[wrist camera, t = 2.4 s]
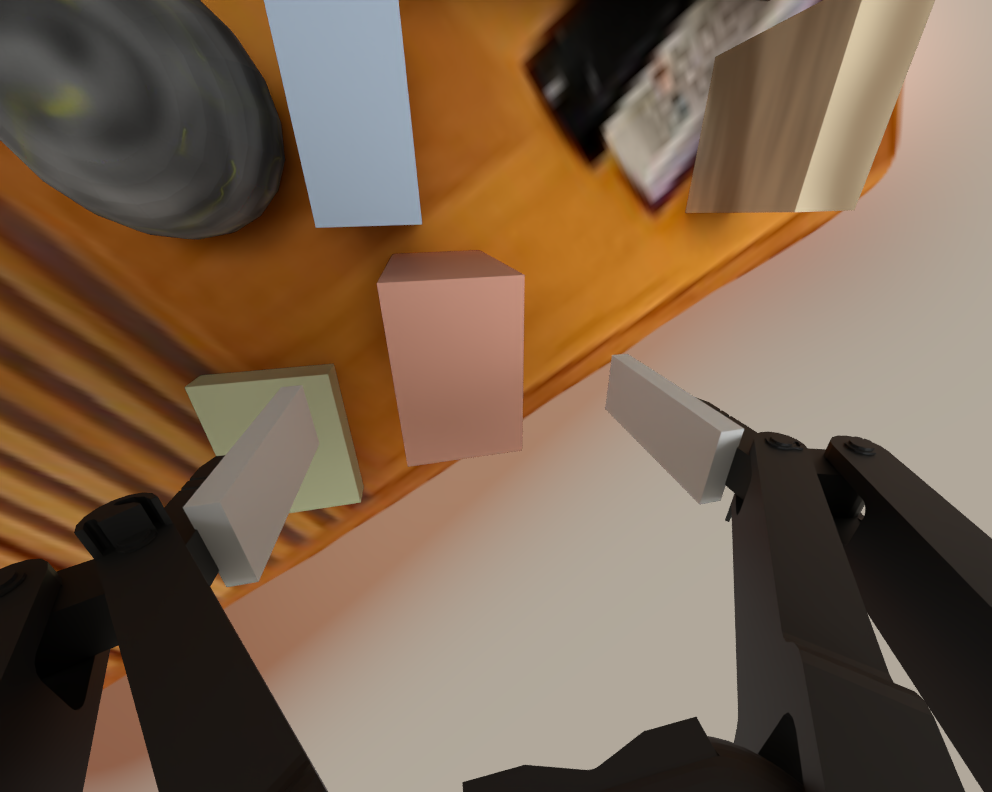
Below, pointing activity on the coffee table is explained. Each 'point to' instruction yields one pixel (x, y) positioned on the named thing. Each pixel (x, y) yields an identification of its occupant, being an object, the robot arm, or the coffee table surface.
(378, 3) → the slate-blue book
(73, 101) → the decorative stone
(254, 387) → the olive lying book
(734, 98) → the oak bookend
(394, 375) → the pink rectangular block
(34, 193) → the coffee table surface
